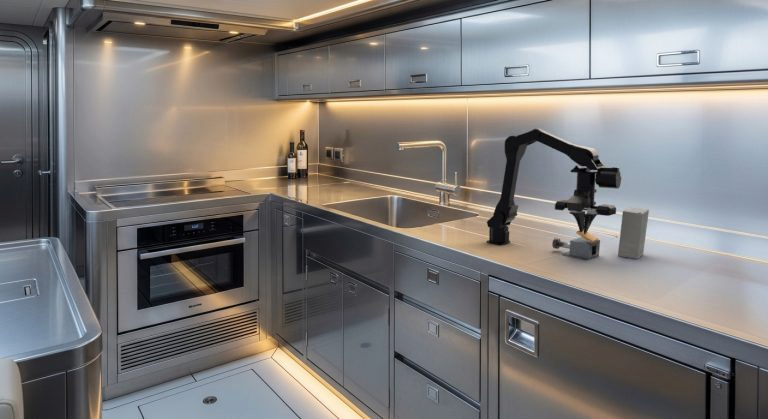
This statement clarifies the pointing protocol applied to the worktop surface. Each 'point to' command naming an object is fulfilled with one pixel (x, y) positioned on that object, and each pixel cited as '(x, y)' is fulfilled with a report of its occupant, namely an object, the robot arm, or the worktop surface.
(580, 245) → the bracket
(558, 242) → the pin
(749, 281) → the worktop surface
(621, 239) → the skincare box
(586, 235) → the plate
